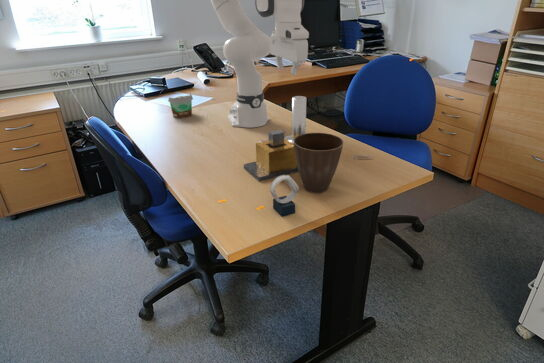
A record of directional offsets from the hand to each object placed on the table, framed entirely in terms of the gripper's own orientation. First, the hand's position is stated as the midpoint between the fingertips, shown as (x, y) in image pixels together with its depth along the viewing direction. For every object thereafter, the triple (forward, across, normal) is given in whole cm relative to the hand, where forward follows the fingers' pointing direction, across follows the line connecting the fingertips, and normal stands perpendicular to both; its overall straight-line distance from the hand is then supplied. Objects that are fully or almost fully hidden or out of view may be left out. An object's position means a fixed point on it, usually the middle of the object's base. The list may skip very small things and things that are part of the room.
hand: (286, 71), depth 140 cm
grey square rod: (+28, +13, -11) cm, 33 cm away
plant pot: (+30, +32, -7) cm, 45 cm away
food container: (+32, -62, -22) cm, 73 cm away
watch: (+30, +39, -23) cm, 55 cm away
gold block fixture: (+30, +11, -9) cm, 33 cm away
